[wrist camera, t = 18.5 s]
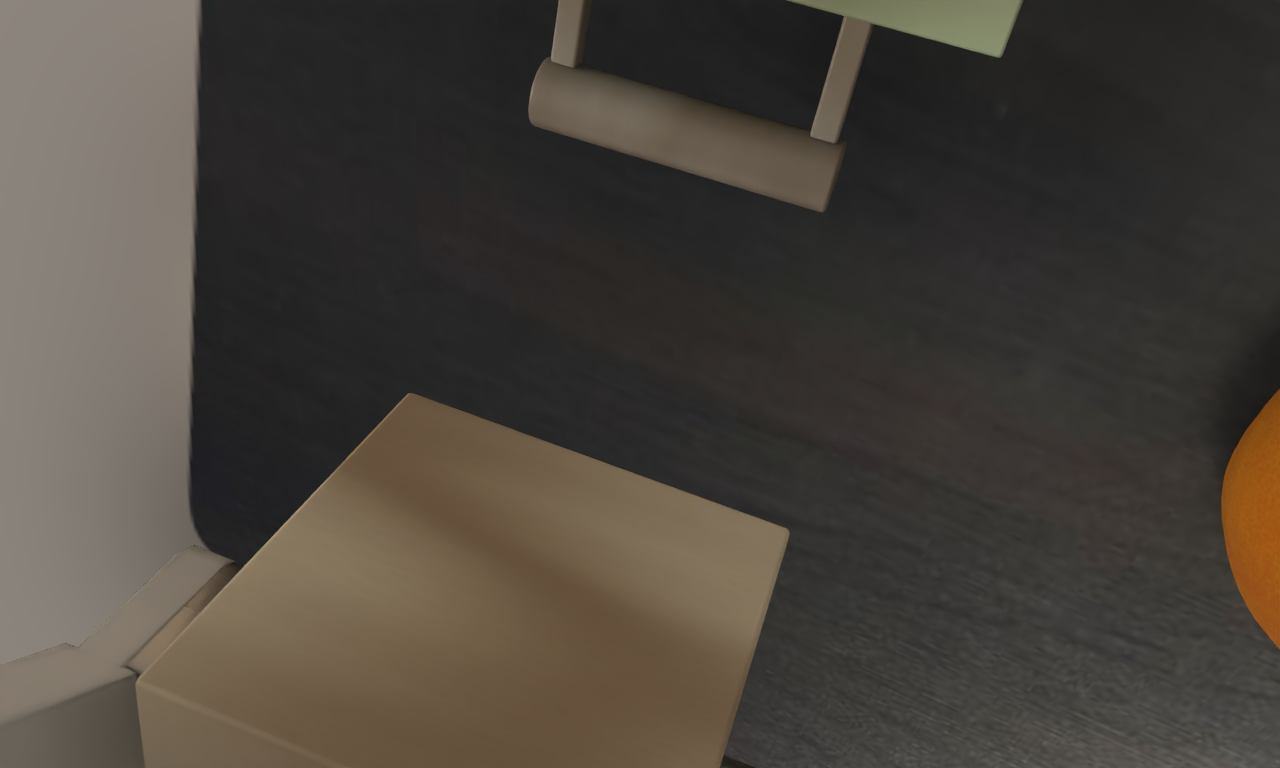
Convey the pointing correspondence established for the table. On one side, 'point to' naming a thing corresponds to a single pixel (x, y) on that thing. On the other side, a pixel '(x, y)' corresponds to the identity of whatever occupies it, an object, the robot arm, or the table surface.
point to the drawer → (734, 140)
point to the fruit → (1256, 517)
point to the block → (472, 617)
